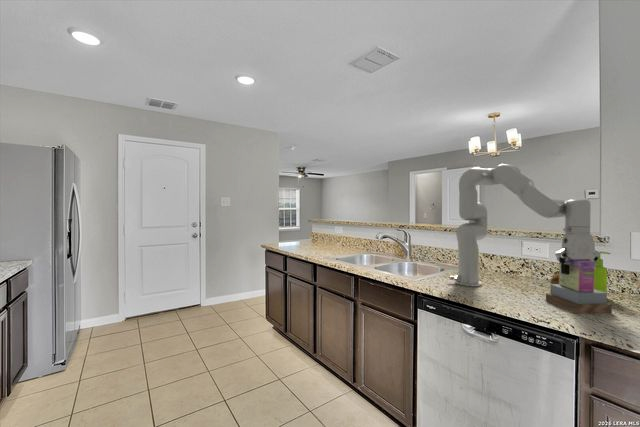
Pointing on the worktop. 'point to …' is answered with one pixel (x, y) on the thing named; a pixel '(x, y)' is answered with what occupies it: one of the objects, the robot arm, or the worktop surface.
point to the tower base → (579, 306)
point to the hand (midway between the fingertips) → (577, 273)
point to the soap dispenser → (600, 275)
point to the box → (579, 276)
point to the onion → (555, 278)
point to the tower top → (579, 295)
